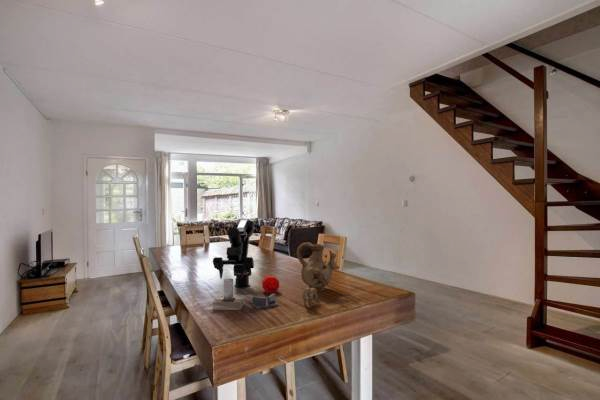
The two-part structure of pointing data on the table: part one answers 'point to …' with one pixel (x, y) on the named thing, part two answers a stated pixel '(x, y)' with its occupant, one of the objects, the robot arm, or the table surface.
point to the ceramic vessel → (316, 267)
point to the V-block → (263, 301)
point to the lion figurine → (309, 295)
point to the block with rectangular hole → (228, 304)
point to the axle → (228, 290)
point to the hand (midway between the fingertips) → (230, 278)
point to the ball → (270, 284)
